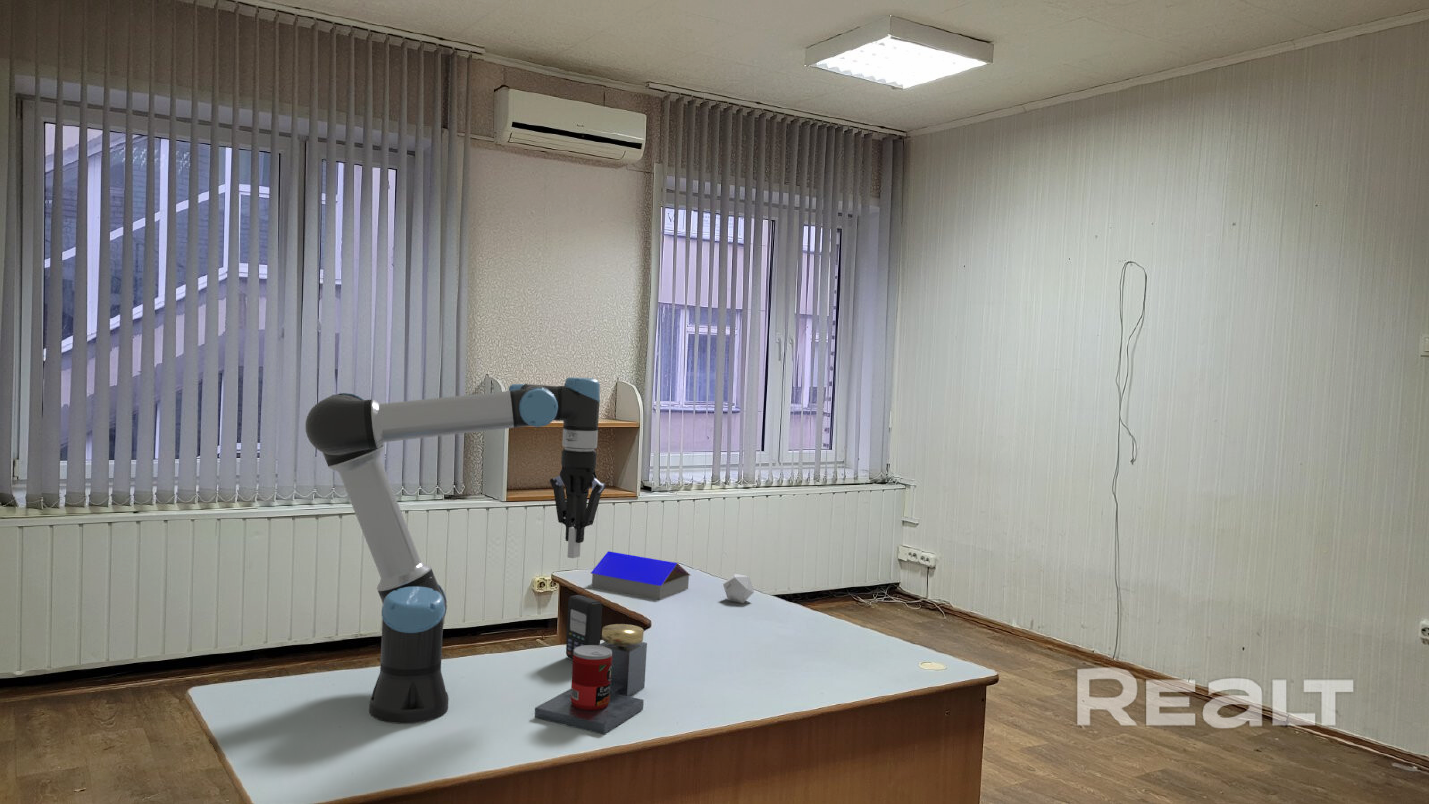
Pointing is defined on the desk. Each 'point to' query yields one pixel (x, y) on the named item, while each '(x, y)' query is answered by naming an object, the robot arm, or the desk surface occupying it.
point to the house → (639, 576)
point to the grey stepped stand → (623, 685)
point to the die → (738, 588)
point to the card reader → (583, 623)
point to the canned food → (591, 677)
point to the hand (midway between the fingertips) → (573, 556)
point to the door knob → (622, 634)
